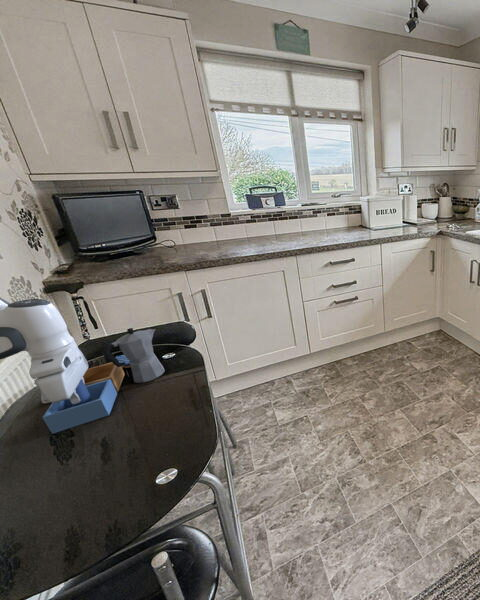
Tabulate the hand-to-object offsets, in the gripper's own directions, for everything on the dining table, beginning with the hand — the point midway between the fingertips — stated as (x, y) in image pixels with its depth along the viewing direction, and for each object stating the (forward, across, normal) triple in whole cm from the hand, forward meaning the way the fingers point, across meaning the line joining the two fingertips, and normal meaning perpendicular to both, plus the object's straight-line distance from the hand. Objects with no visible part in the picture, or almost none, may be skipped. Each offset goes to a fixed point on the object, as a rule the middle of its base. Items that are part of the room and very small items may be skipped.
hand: (80, 397), depth 94 cm
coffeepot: (+6, -12, +13) cm, 18 cm away
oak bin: (+5, -14, 0) cm, 15 cm away
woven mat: (+6, -29, +6) cm, 30 cm away
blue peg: (+2, 0, 0) cm, 2 cm away
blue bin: (+5, 0, 0) cm, 5 cm away
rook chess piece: (+6, -16, -12) cm, 21 cm away
